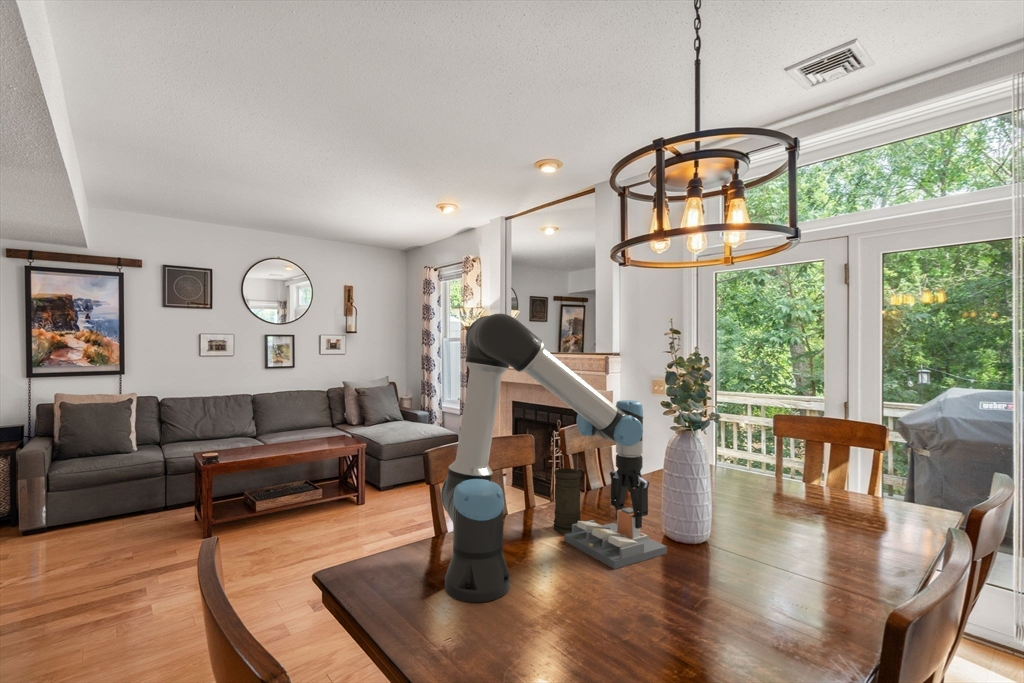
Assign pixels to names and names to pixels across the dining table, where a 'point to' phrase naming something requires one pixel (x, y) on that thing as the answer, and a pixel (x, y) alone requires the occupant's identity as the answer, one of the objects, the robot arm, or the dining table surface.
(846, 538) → the dining table surface
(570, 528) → the container
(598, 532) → the plate
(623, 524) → the orange block
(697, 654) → the dining table surface
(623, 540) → the rocker near
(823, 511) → the dining table surface
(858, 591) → the dining table surface
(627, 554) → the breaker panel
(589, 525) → the rocker far
